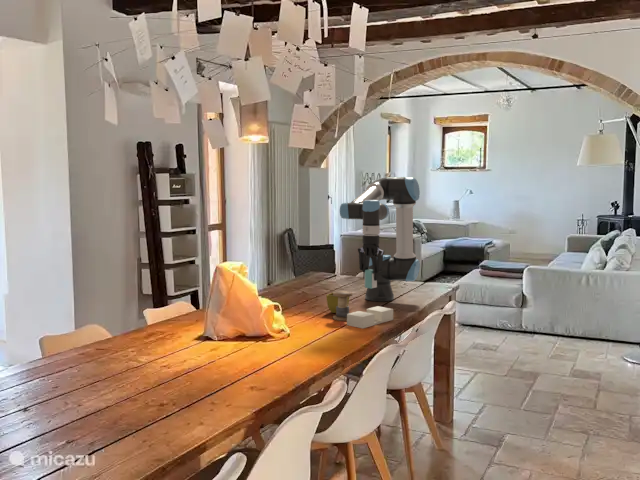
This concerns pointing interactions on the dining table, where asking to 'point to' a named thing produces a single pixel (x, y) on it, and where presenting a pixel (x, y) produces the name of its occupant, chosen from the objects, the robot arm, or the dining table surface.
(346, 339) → the dining table surface
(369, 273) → the block
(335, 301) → the flower pot
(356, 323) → the notched board
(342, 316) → the door knob
